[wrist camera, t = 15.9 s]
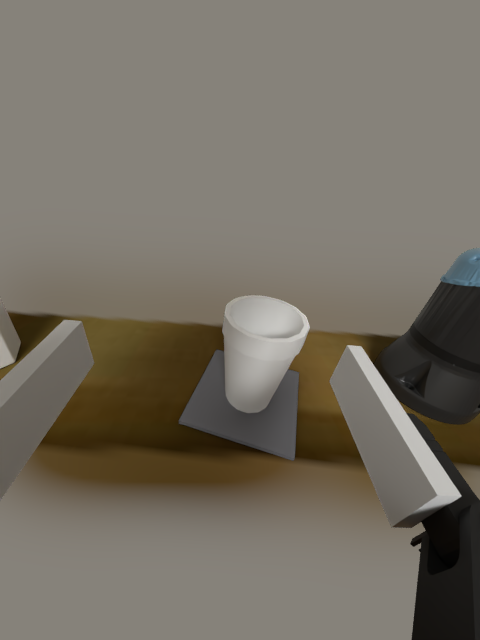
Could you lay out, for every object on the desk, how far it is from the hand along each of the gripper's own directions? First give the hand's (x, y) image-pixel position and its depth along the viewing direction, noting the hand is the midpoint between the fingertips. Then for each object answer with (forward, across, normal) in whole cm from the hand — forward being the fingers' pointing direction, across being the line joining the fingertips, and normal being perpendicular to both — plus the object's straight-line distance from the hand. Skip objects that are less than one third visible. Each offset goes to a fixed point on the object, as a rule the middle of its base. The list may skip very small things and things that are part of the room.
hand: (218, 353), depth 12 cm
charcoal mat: (+12, +5, -19) cm, 23 cm away
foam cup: (+12, +5, -19) cm, 23 cm away
